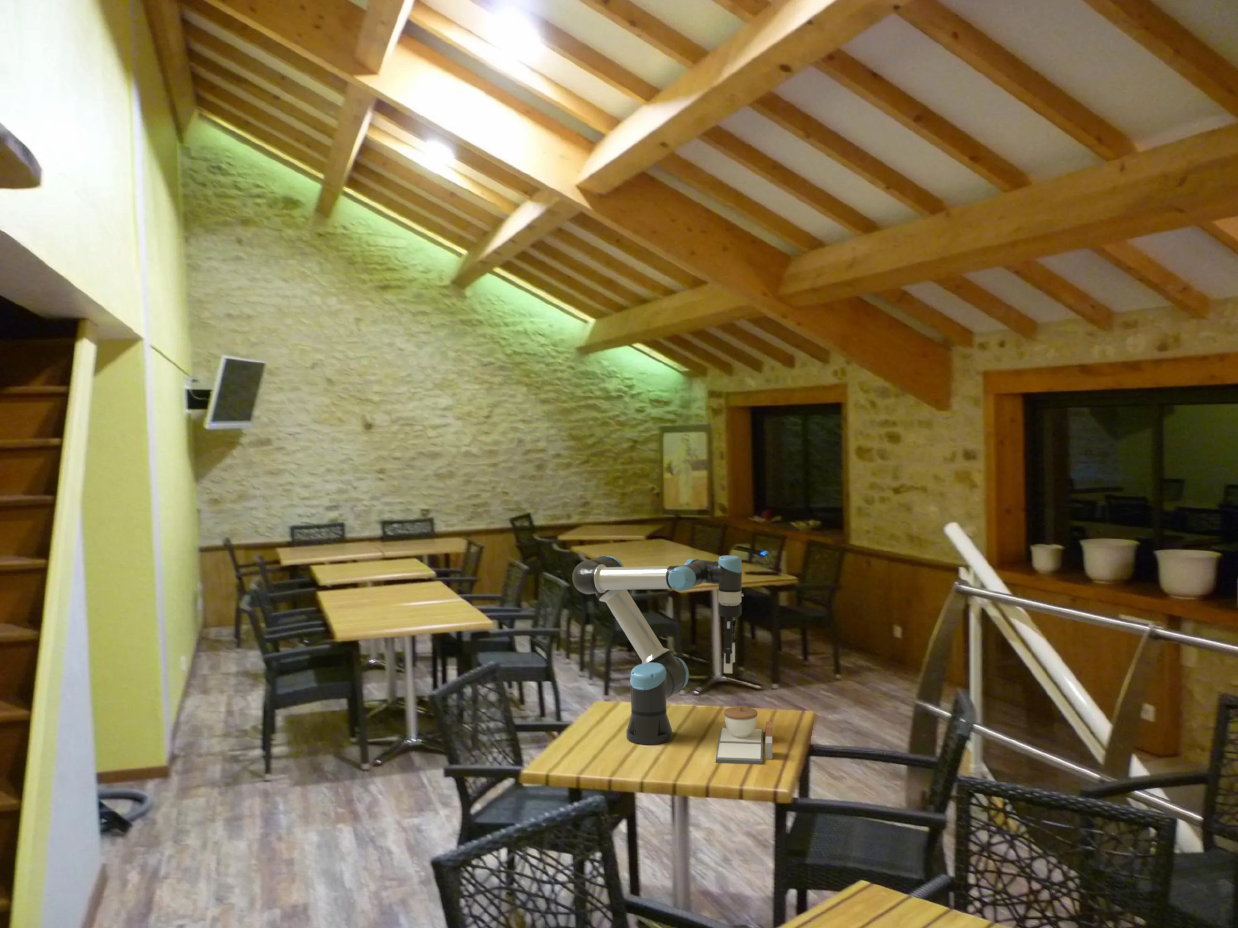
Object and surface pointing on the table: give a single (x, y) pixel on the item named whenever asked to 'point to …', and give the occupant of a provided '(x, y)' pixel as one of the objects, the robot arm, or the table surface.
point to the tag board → (744, 747)
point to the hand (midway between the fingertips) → (729, 667)
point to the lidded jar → (740, 721)
